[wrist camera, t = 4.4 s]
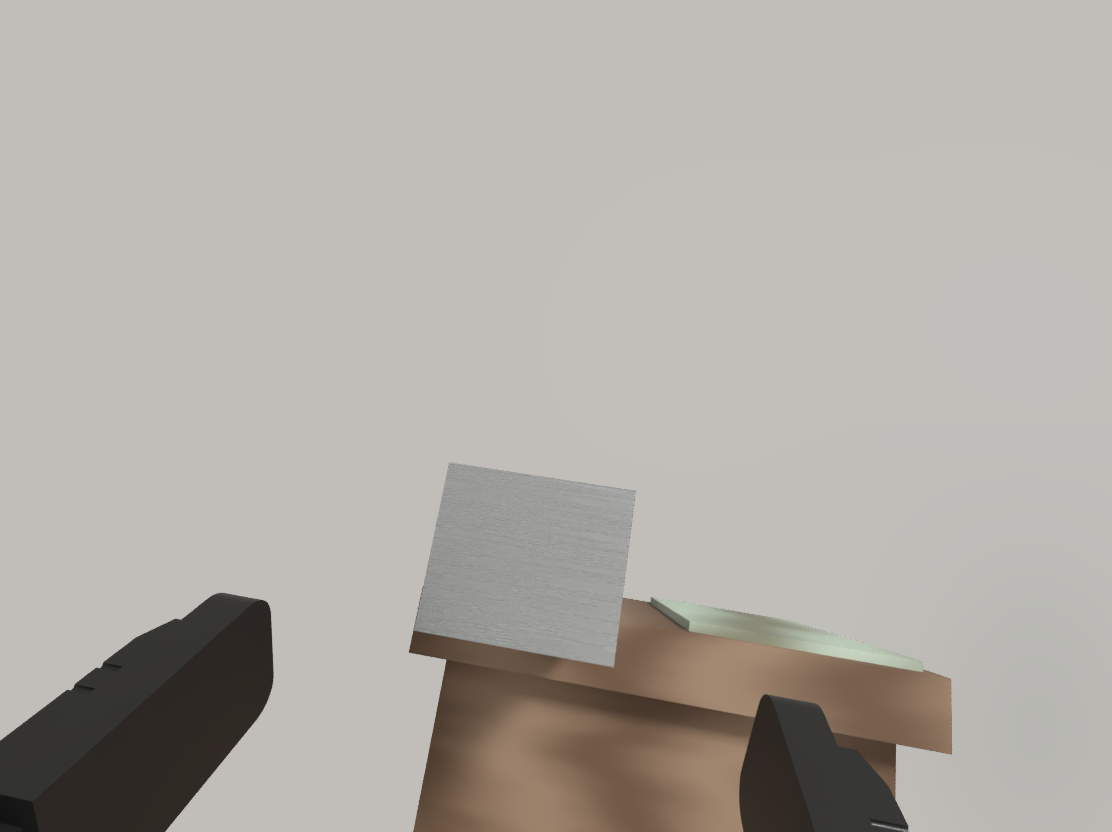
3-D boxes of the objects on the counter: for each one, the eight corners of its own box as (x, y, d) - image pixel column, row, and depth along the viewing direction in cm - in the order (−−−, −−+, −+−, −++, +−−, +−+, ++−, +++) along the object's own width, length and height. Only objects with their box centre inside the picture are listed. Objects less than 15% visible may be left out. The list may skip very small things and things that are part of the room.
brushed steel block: (373, 623, 10) (421, 406, 11) (516, 579, 29) (529, 503, 30) (658, 675, 9) (683, 443, 10) (610, 595, 29) (620, 518, 29)
